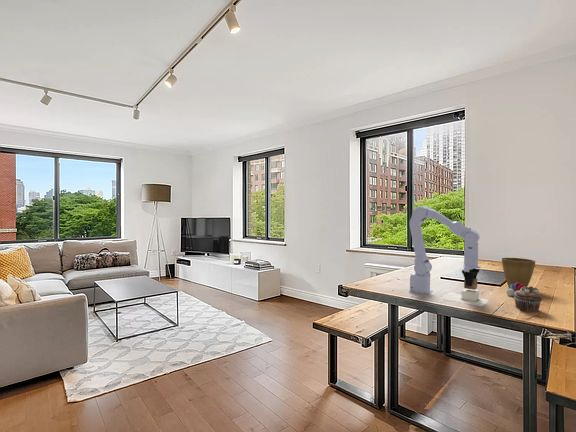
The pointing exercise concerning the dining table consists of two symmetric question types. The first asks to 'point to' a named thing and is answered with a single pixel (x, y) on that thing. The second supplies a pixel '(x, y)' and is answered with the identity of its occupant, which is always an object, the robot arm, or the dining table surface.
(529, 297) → the cupcake
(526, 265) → the plant pot
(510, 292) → the multicoloured rounded cluster
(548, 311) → the dining table surface
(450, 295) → the felt mat
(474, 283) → the walnut cube
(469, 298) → the base block
